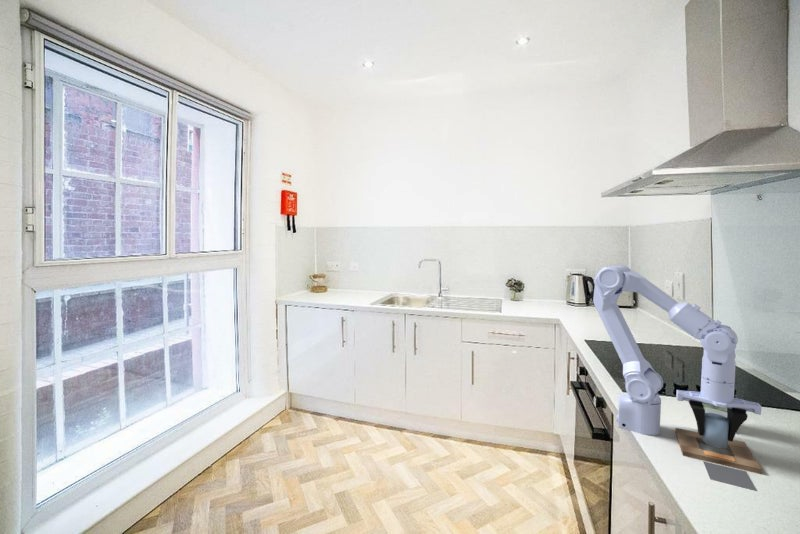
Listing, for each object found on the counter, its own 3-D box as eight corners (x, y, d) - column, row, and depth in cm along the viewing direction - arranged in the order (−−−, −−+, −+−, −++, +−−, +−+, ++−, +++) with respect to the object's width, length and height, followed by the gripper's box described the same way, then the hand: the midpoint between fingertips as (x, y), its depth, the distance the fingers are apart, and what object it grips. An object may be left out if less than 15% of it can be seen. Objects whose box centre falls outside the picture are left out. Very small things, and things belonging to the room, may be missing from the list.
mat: (710, 483, 73) (710, 479, 73) (702, 465, 79) (703, 461, 79) (757, 496, 69) (757, 491, 69) (745, 475, 75) (746, 471, 75)
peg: (703, 444, 82) (705, 419, 82) (700, 435, 86) (701, 411, 85) (730, 450, 80) (731, 424, 79) (724, 440, 84) (726, 415, 83)
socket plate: (682, 459, 81) (683, 450, 81) (675, 435, 91) (675, 427, 91) (761, 478, 75) (761, 468, 74) (743, 450, 85) (744, 441, 85)
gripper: (680, 378, 82) (677, 435, 83) (767, 391, 75) (764, 454, 76) (675, 369, 88) (673, 422, 89) (756, 380, 81) (753, 438, 82)
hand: (714, 436), depth 83 cm, fingers closed on peg, 4 cm apart
